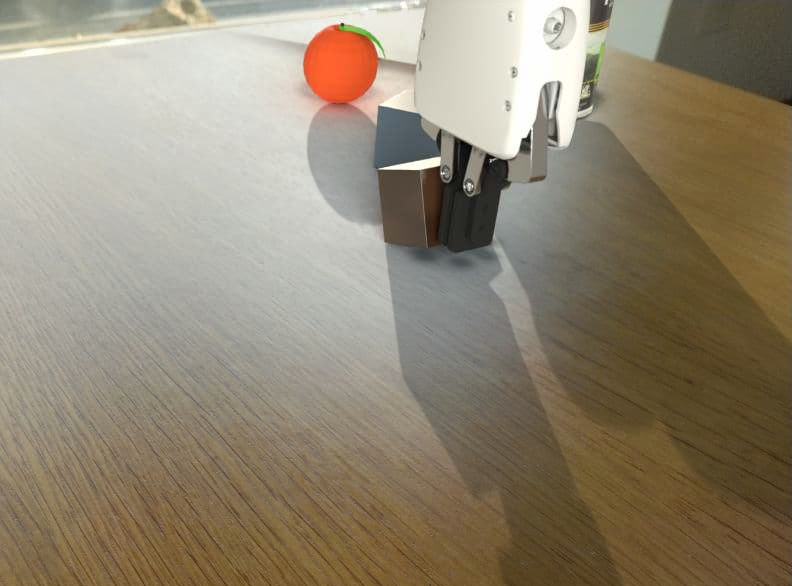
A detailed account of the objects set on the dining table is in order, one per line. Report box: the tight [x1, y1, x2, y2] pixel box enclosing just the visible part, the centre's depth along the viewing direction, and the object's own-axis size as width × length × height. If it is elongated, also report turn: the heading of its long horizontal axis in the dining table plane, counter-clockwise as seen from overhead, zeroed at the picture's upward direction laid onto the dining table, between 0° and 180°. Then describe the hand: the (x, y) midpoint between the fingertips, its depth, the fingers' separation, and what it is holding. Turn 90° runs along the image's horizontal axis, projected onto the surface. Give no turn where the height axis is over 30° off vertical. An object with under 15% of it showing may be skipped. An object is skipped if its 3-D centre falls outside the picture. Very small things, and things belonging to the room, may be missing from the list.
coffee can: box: [576, 0, 615, 120], centre depth 88 cm, size 10×10×14 cm
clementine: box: [302, 22, 387, 105], centre depth 90 cm, size 8×7×7 cm
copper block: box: [376, 157, 448, 249], centre depth 65 cm, size 5×5×5 cm
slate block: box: [373, 88, 441, 169], centre depth 78 cm, size 5×5×5 cm
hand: (464, 244), depth 63 cm, fingers closed
